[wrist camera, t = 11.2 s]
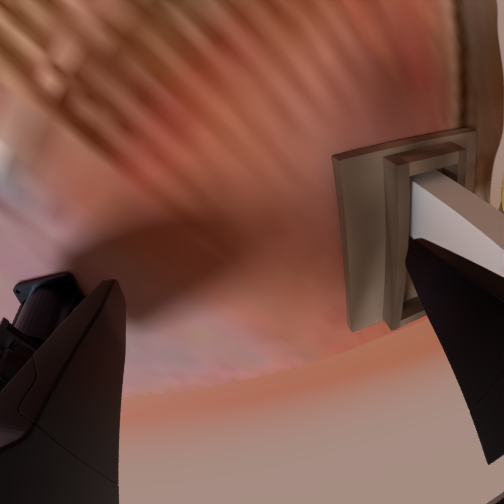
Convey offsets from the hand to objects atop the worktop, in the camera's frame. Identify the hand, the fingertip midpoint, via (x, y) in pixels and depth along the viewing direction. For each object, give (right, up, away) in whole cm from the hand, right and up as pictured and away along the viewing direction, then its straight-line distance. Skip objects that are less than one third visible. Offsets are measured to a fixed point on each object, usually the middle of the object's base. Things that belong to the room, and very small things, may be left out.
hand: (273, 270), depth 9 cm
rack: (+14, +2, +18) cm, 23 cm away
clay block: (+13, +5, +14) cm, 20 cm away
